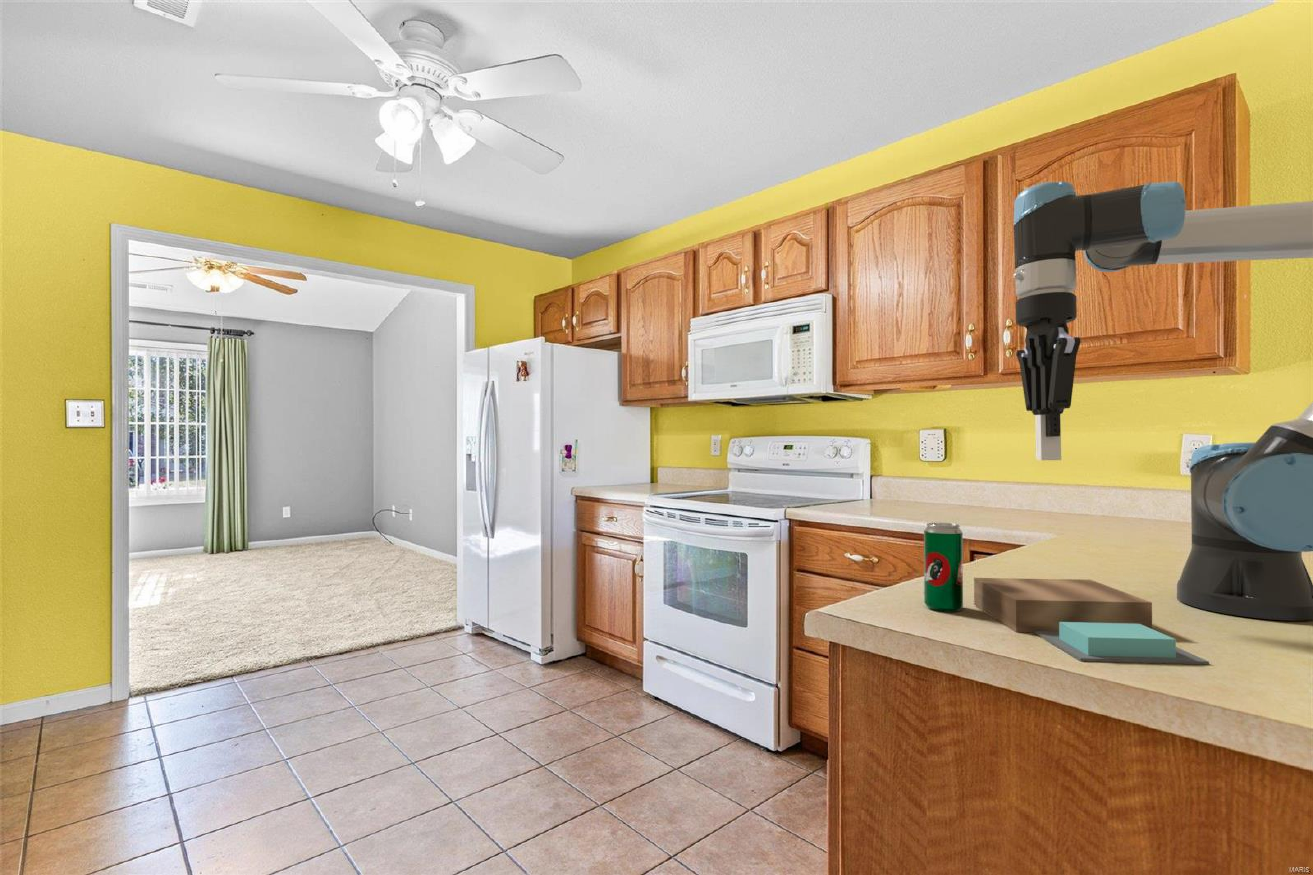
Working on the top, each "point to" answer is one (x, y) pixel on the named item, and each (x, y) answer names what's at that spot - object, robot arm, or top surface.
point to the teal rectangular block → (1117, 639)
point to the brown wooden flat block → (1057, 603)
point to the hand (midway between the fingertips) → (1048, 459)
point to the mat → (1181, 656)
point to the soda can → (943, 567)
